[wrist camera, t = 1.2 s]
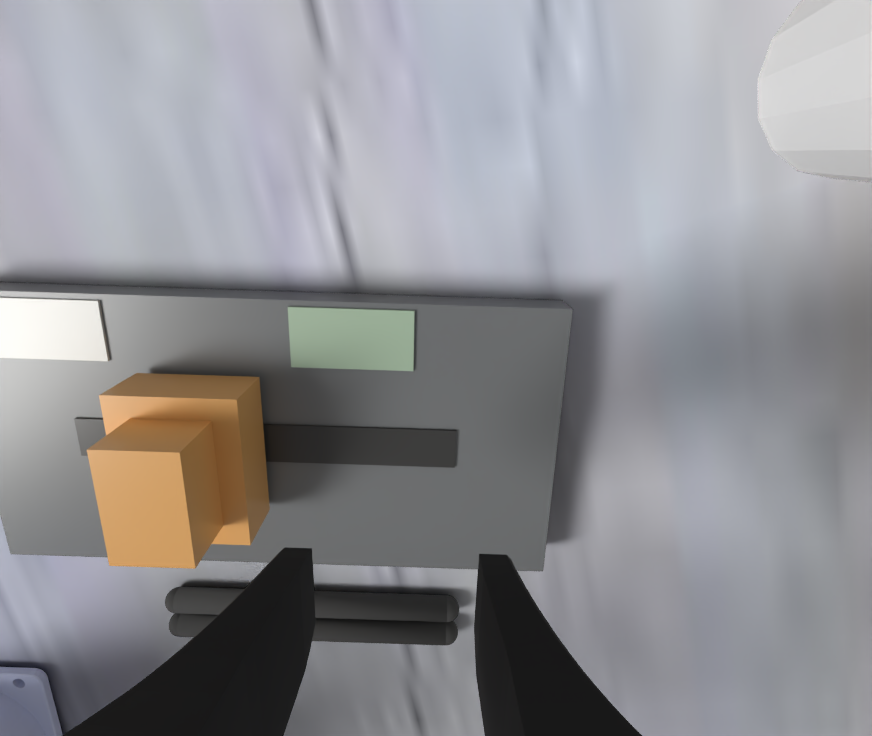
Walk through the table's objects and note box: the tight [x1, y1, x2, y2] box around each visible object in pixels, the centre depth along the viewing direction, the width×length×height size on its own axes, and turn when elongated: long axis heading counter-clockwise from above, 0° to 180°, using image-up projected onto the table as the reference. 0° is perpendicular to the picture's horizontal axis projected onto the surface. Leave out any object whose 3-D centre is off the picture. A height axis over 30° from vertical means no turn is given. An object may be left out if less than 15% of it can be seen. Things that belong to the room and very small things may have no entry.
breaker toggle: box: [87, 373, 270, 568], centre depth 16 cm, size 4×5×4 cm
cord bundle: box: [165, 587, 459, 645], centre depth 22 cm, size 12×2×1 cm, turn 88°
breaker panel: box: [0, 282, 573, 571], centre depth 19 cm, size 20×10×2 cm, turn 88°
